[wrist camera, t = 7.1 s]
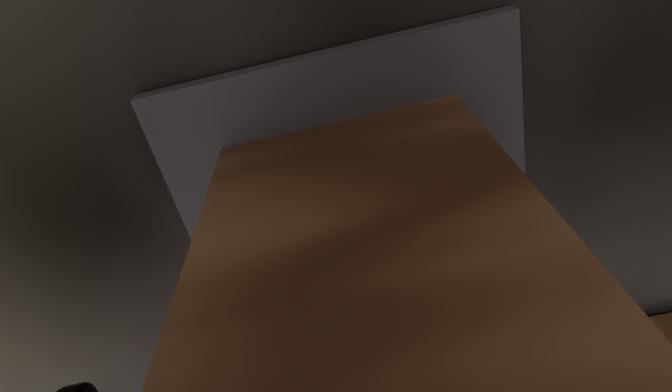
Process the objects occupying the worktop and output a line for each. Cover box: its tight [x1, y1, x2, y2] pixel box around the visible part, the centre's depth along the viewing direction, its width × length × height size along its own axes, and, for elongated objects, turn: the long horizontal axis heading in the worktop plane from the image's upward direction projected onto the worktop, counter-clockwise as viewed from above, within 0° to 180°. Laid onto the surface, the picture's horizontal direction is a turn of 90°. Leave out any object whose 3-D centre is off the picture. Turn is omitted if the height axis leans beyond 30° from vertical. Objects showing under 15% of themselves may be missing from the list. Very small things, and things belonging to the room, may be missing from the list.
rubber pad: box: [130, 5, 526, 240], centre depth 11 cm, size 7×7×1 cm
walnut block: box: [142, 94, 672, 392], centre depth 8 cm, size 4×4×7 cm
